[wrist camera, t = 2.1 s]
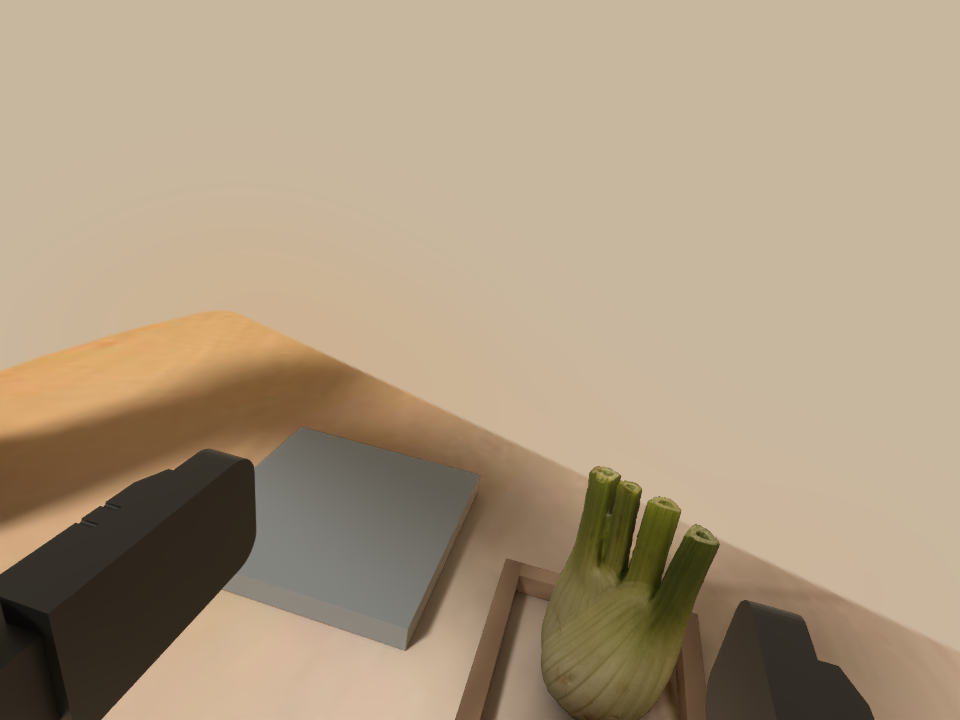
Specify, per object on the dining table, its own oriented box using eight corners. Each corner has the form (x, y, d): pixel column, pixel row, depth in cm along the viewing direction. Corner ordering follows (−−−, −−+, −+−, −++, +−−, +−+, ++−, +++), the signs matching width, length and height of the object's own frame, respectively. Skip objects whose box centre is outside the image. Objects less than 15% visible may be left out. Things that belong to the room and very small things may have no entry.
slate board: (165, 570, 32) (162, 549, 31) (301, 443, 44) (301, 426, 43) (405, 650, 29) (407, 629, 28) (477, 492, 42) (480, 474, 41)
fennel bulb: (660, 741, 27) (743, 536, 22) (562, 763, 25) (628, 549, 20) (602, 635, 32) (659, 450, 27) (518, 648, 30) (562, 454, 25)
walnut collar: (439, 775, 24) (442, 757, 23) (503, 573, 35) (506, 558, 34) (715, 878, 22) (724, 860, 21) (691, 630, 33) (697, 614, 32)
